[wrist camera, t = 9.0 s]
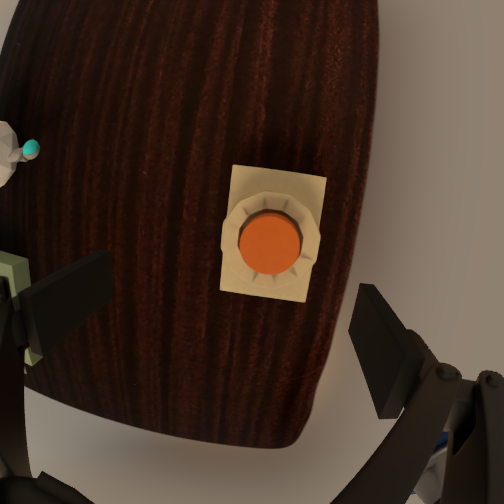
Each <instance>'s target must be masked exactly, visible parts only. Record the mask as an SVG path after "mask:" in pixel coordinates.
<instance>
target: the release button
mask: <svg viewBox="0 0 504 504" xmlns="http://www.w3.org/2000/svg"><path fill="white" fill-rule="evenodd" d="M239 247H240V253H241V256H242V258H243V260H244V261H245V263H246V264H247V265H248V266H249V267H250V268H251V269H253V270H254V271H256V272H258V273H261V274H265V275H274V274H279V273H282V272H284V271H286V270H287V269H289V268H290V267H291V266H292V265H293V264H294V262H295V261H296V259H297V257H298V255H299V251H300V241H299V236H298V233H297V230H296V228H295V226H294V224H293V223H292V222H291V221H290V220H289V219H288V218H286V217H285V216H283V215H280V214H277V213H263V214H260V215H258V216H256V217H254V218H253V219H252V220H251V221H250V222H249V223H248V224H247V226H246V227H245V229H244V230H243V232H242V234H241V237H240V244H239Z"/></svg>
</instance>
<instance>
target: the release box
mask: <svg viewBox="0 0 504 504" xmlns="http://www.w3.org/2000/svg"><path fill="white" fill-rule="evenodd" d="M326 179H327V178H326V177H321V176H314V175H308V174H302V173H295V172H288V171H281V170H274V169H266V168H258V167H250V166H241V165H233V168H232V177H231V185H230V194H229V203H228V212H227V218H226V219H225V220H224V222H223V229H222V239H221V249H222V251H223V261H222V271H221V282H220V290H223V291H229V292H236V293H242V294H249V295H256V296H263V297H270V298H277V299H284V300H291V301H299V302H305V301H306V296H307V291H308V286H309V281H310V275H311V270H312V265H313V264H314V263H315V262H316V260H317V255H318V249H319V243H320V238H321V236H320V232H319V225H320V219H321V212H322V206H323V200H324V193H325V186H326ZM263 213H277V214H280V215H283V216H285V217H286V218H288V219H289V220H290V221H291V222H292V223H293V224H294V226H295V228H296V230H297V233H298V236H299V241H300V251H299V255H298V257H297V259H296V261H295V262H294V264H293V265H292V266H291V267H290V268H289V269H287V270H286V271H284V272H282V273H279V274H274V275H265V274H261V273H258V272H256V271H254V270H253V269H251V268H250V267H249V266H248V265H247V264H246V263H245V261H244V260H243V258H242V256H241V253H240V247H239V244H240V237H241V234H242V232H243V230H244V229H245V227H246V226H247V224H248V223H249V222H250V221H251V220H252V219H253V218H254V217H256V216H258V215H260V214H263Z"/></svg>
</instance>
